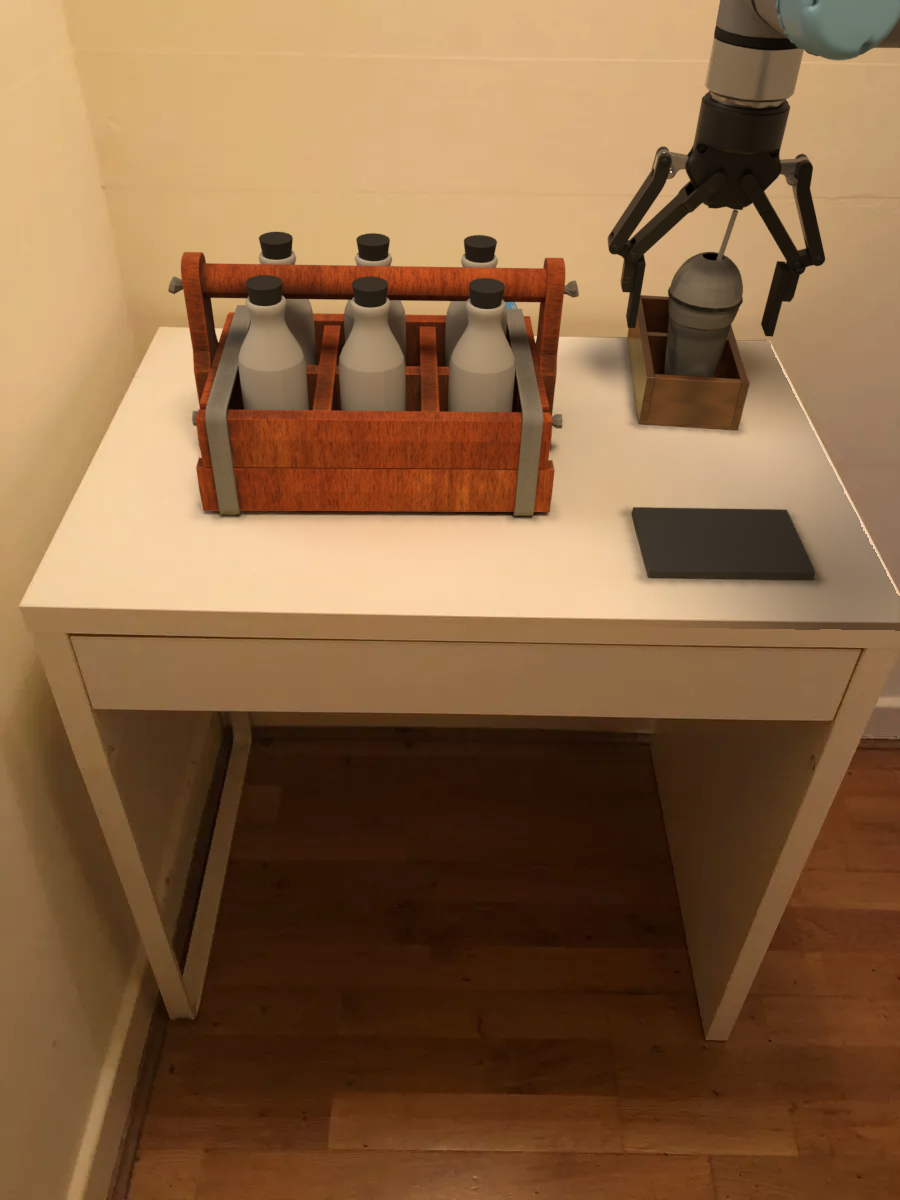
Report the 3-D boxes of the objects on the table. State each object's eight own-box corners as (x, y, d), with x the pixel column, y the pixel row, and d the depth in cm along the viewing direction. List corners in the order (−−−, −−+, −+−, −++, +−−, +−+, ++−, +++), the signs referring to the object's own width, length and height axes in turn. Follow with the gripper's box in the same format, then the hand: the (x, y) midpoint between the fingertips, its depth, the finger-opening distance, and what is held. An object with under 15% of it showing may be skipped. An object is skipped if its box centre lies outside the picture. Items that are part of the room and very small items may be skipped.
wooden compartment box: (713, 342, 114) (723, 299, 111) (737, 430, 100) (749, 383, 96) (626, 337, 115) (633, 294, 111) (638, 423, 100) (646, 377, 97)
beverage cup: (667, 375, 107) (703, 188, 94) (729, 396, 104) (775, 205, 91) (636, 402, 103) (670, 209, 90) (700, 424, 100) (745, 228, 87)
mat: (784, 516, 89) (787, 509, 88) (813, 580, 82) (816, 572, 82) (631, 513, 88) (632, 506, 88) (648, 578, 82) (649, 570, 81)
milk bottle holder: (213, 397, 102) (185, 209, 89) (548, 401, 103) (568, 215, 91) (177, 519, 86) (137, 310, 73) (573, 520, 87) (602, 316, 75)
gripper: (882, 91, 87) (816, 317, 101) (600, 76, 87) (573, 302, 102) (906, 115, 81) (832, 351, 95) (603, 100, 82) (574, 335, 96)
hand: (698, 326), depth 98 cm, fingers open, 13 cm apart
